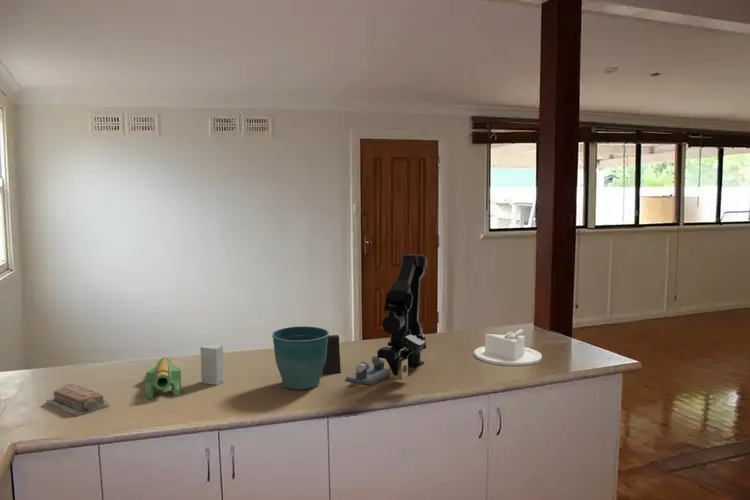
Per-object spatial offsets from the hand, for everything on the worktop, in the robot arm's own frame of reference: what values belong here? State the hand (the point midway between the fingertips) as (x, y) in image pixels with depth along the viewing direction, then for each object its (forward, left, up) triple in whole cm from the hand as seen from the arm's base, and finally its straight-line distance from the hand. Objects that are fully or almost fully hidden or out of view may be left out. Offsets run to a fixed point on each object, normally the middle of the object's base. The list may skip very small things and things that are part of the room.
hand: (398, 373), depth 200 cm
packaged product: (+65, -71, -4) cm, 97 cm away
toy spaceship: (+38, -66, -3) cm, 77 cm away
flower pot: (+18, -26, -3) cm, 32 cm away
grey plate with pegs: (-1, -11, -3) cm, 11 cm away
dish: (-48, +21, -4) cm, 53 cm away
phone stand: (0, -27, -3) cm, 27 cm away
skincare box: (+31, -52, -3) cm, 61 cm away
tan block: (0, 0, -1) cm, 1 cm away
